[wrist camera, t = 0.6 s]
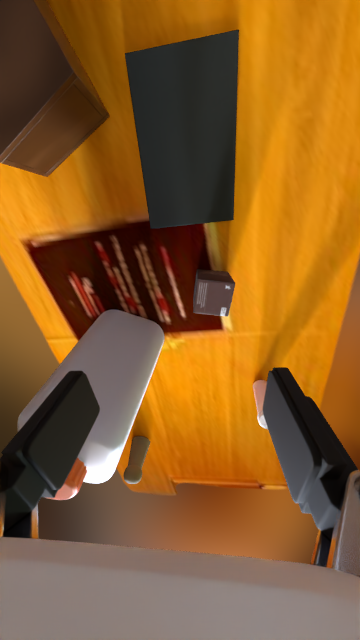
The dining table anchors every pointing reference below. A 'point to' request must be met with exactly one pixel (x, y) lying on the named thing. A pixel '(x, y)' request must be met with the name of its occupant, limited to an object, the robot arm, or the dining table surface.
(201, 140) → the mat
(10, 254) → the dining table surface
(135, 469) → the pepper shaker
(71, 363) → the plastic bottle
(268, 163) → the dining table surface
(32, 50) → the cabinet
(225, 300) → the box
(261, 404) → the smoothie
